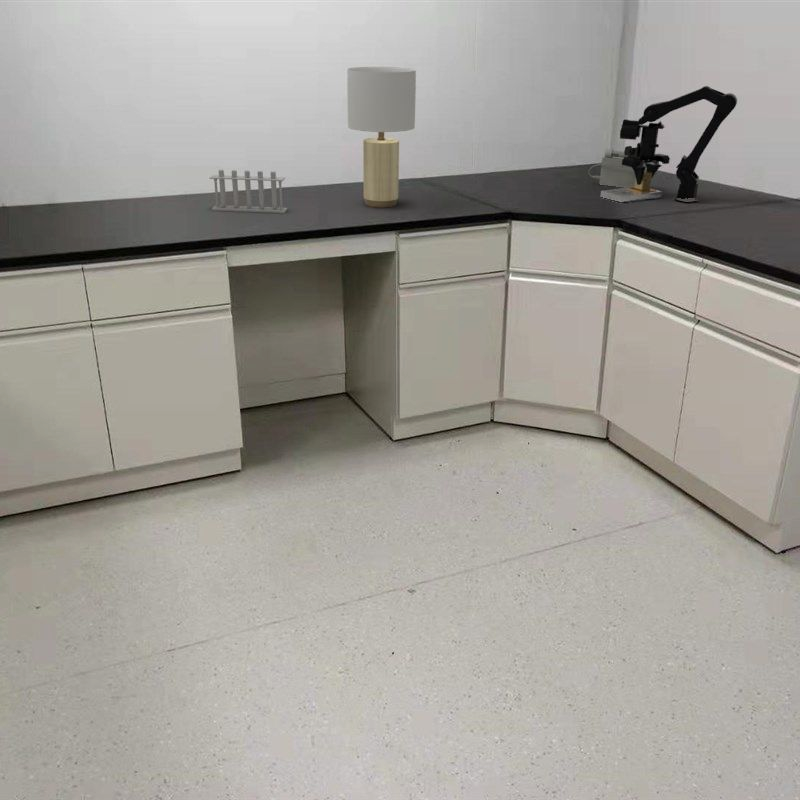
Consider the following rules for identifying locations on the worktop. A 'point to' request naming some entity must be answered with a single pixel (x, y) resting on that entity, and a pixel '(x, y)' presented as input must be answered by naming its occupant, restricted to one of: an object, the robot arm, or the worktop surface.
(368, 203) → the lamp
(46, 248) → the worktop surface
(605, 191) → the rail plate
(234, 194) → the test tube rack
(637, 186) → the brass peg
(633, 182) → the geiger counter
